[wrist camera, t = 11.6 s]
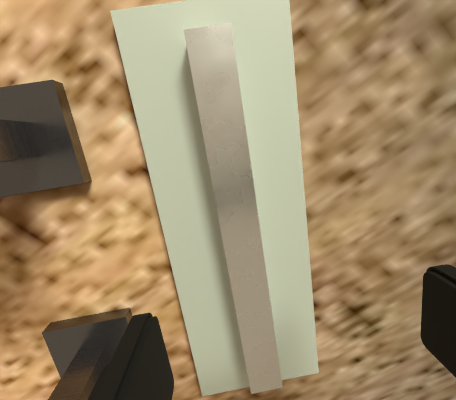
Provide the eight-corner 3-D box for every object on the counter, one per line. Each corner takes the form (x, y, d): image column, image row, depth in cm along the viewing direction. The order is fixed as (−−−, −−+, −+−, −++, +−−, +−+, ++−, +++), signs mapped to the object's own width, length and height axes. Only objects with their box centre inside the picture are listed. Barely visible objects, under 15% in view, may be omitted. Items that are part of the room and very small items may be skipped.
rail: (227, 38, 14) (230, 22, 12) (275, 363, 20) (282, 387, 18) (186, 44, 14) (183, 29, 12) (246, 369, 20) (251, 394, 18)
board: (283, -6, 15) (288, -14, 14) (314, 364, 22) (318, 372, 21) (115, 17, 14) (110, 10, 13) (202, 387, 21) (202, 396, 20)
